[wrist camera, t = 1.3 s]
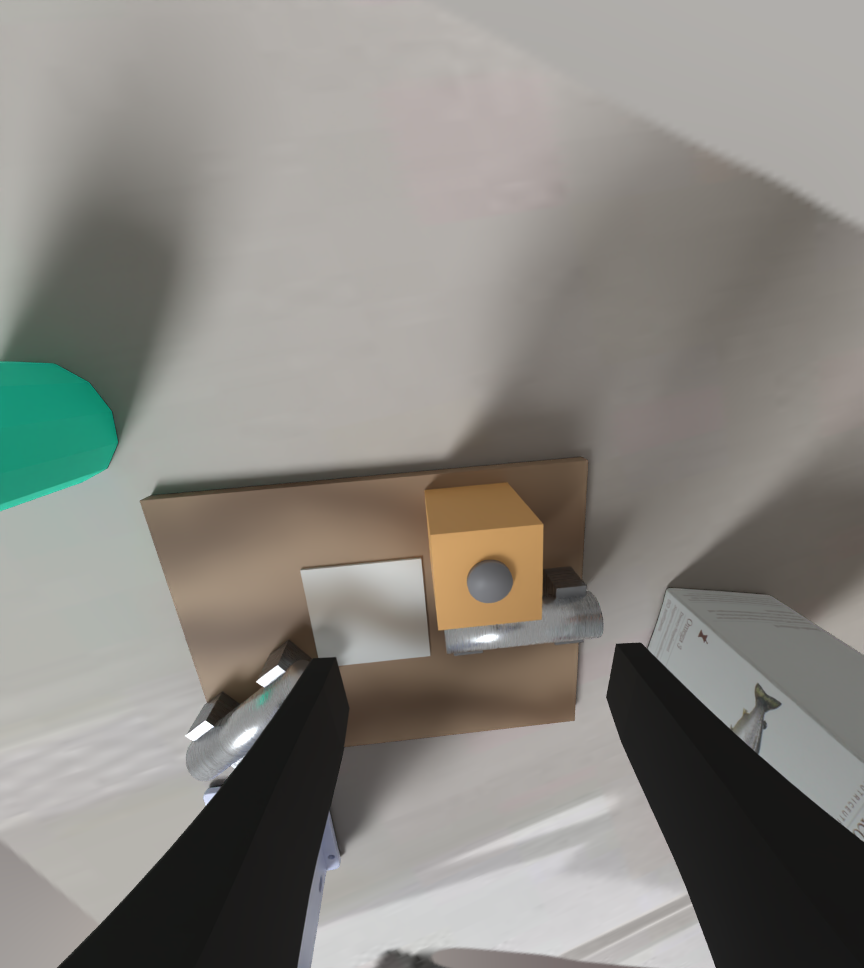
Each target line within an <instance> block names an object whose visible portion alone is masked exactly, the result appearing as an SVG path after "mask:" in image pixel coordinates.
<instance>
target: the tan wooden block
mask: <svg viewBox="0 0 864 968" xmlns="http://www.w3.org/2000/svg"><path fill="white" fill-rule="evenodd" d="M424 492H425V504H426V515H427V527H428V538H429V550H430V561H431V571H432V580H433V588H434V597H435V606H436V614H437V623H438V631H439V630H448V629H458V628H467V627H477V626H487V625H496V624H506V623H515V622H525V621H534V620H542V583H543V523H542V522H541V521H540V520H539V518H538V517H537V516H536V515H535V514H534V513H533V511H532V510H531V509H530V508H529V507H528V506H527V504H526V503H525V502H524V501H523V500H522V499H521V498H520V496H519V495H518V494H517V493H516V492H515V491H514V489H513V488H512V487H511V486H510V485H509V484H508V482H506V483H495V484H484V485H473V486H462V487H451V488H440V489H429V490H424Z"/></svg>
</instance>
